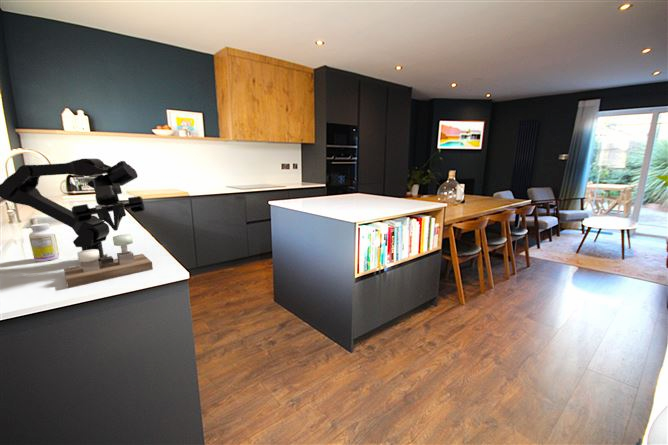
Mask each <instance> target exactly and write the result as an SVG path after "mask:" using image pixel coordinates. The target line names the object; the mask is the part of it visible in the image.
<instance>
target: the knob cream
mask: <svg viewBox="0 0 668 445" xmlns="http://www.w3.org/2000/svg"><path fill="white" fill-rule="evenodd" d="M76 254H77V259H78V262H80V263H81V262H89V261H94V260H97V259H99V258H100V255H99V250H98V249H91V250H84V251H82V250H81V251H78V252H77V253H76Z"/></svg>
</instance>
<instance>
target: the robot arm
mask: <svg viewBox="0 0 668 445" xmlns="http://www.w3.org/2000/svg"><path fill="white" fill-rule="evenodd" d="M58 175H61V176H62V175H73V176H80V177H94V178H91V179H90V180H89V181H88V182H87V184H86V185H87V186H88V187H90V188H92V189H93V190H94V193H95V201H96V204H97V205H95V207H90V208H89V205H88V204H87V203H86V204H85V203H84V204H79V205H73V206H72V207H71V209H68V208H66V207H64V206H62V205H61V204H58V203H57V202H55V201H53V200H52V199H49V198H48V197H46V196H43V195H42V194H41V192H40V191H39V189H38V188H37V186H38V185H39V181H40V178H41V177H43V176H46V177H47V176H58ZM138 176H139V175H138V173H137V171H136V169H134V168H133V167H132V166H131V165H130V164H128V163H127V162H126V161H125V160H120V161H119V162H117V163H116V164H115V165H112V166H110V165H107V164H105V163H104V162H103V161H102V160H101V159H99V158H80V159H76V160H72V161H69V162H65V163H62V162H61V163H50V164H48V163H47V164H45V163H44V164H23V165H20V166H19V167H18V168H17V169H16V170H15V172H13V173H12V174H11V175H9V176H8V177H7V178H5V179H4V180H3V182H2V183H0V199H2V200H4V201H7V202H9V203H13V204H18V205H23V206H28V207H30V208H32V209H35V210H36V211H39V212H40V213H43V215H46V216H48V217H50V218H51V219H52V218H53V219H54V220H56V221H58V222H59V223H61V224H64V225H65V226H68V227H70V228H71V229H72V230H73V231H74V233H75V234H76V236H77V237H75V239H73V241H72V243H73V244H74V246H75V247H76V248H81V251H84V250H91V249H98V250H99V255H100V258H104V257H105V254H104V248H103V243H102V242H104V241H106V240H107V236H108V235H109V234H110V227H111V228H112V230H113V231H114V232H115V231H118V229H119V226H120V223H121V221H122V219H123V218H124V217H126V216H127V214H126V210H125V209H130V211H131V212H132V213H141V212H144V211H145V210H146V209H145V205H144V200H143V197H141V196H140V195H138V196H132V197H128V198H127V199H128V201H124V202H120V199H119V195H120V194H121V195H122V194H123V191H122V188H121V187H122V186H124V185H127V184H128V183H131V181H134V180H136V179H137V178H138ZM109 212H110V213H111V212H112V213H113V219H112V216H111V214H110V213H109ZM96 215H97V216H96ZM109 226H110V227H109ZM100 258H99V259H98V260H99V262H101V261H100Z"/></svg>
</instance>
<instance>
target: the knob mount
mask: <svg viewBox="0 0 668 445" xmlns="http://www.w3.org/2000/svg"><path fill="white" fill-rule="evenodd" d="M104 255H105V257H104V258H100V261H99V260H98V259H97V260H94V261H89V262H80V263H81V265H78V266H77V265H76V266H71V267H66V268H63V271H64V277H65V280H66V284H67V289H70V288H74V287H80V286H85V285H90V284H92V283H97V282H101V281H105V280H107V281H108V280H111V279H115V278H119V277H123V276H130V275H132V274H133V275H134V274H138V273H141V272H147V271H150V270H151V271H152V270H153V269H154V267H153V262H152V260H150V259H149V257H147V256H146V255H145V254H143V253H139V254H135V255H134V253H133V251H131V250H129V251H128V253H126V254H122V252H118V253H116V257H117V258H113V256H112V255H111V256H109V255H108V254H107V253H105V254H104Z"/></svg>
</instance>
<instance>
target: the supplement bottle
mask: <svg viewBox="0 0 668 445" xmlns="http://www.w3.org/2000/svg"><path fill="white" fill-rule="evenodd" d="M30 228H31V230H32V232H30V233H29V235H28V237H29V242H30V247H31V250H32V255H33V259H34V261H35V262H50V261H53V260H56V259H58V258H59V257H60V251H59V246H58V243H57V237H56V233H55V231H54V230H52V229H50V223H48V222H47V223H46V222H45V223H44V222H43V223H36V224H35V223H34V224H31V225H30Z"/></svg>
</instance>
